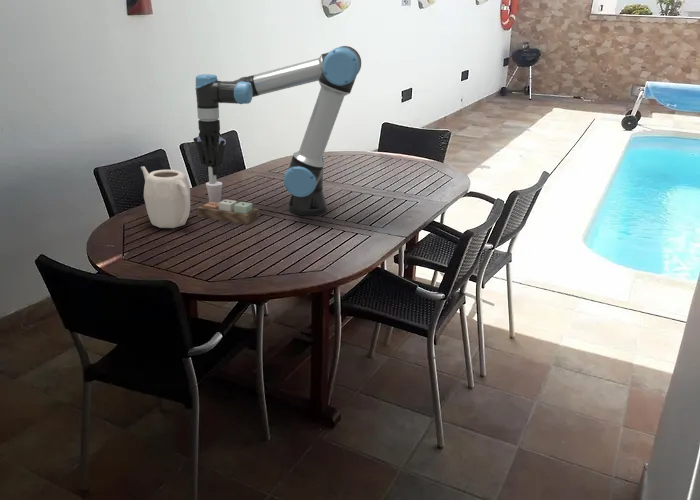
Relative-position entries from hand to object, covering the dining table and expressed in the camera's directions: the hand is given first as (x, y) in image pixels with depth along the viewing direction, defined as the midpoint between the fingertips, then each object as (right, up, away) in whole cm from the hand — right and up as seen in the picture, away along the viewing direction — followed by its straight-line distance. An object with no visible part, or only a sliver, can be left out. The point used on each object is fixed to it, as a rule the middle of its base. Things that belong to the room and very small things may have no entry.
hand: (213, 183), depth 226 cm
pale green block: (+11, -11, 0) cm, 16 cm away
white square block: (+5, -10, +2) cm, 12 cm away
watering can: (-15, -15, -6) cm, 22 cm away
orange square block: (-1, -11, +4) cm, 12 cm away
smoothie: (-2, -8, +13) cm, 16 cm away
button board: (+5, -12, +3) cm, 14 cm away
